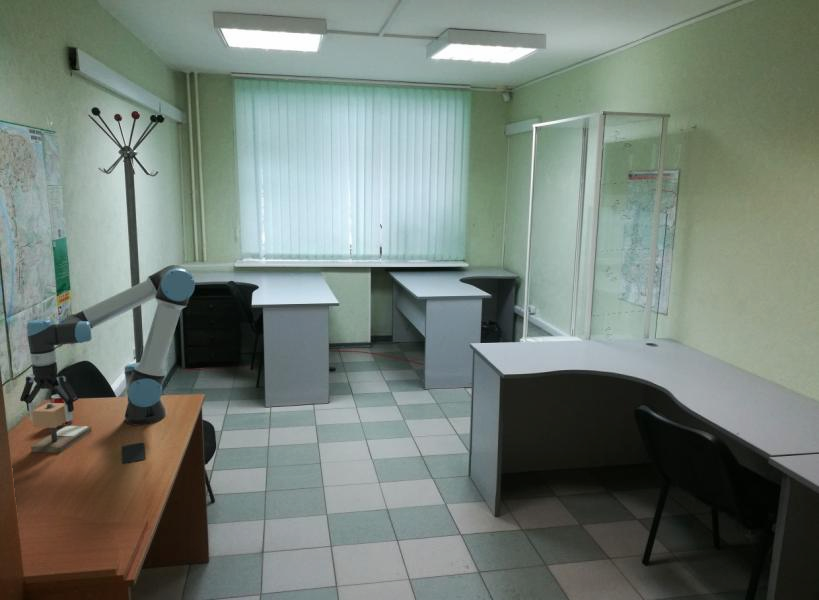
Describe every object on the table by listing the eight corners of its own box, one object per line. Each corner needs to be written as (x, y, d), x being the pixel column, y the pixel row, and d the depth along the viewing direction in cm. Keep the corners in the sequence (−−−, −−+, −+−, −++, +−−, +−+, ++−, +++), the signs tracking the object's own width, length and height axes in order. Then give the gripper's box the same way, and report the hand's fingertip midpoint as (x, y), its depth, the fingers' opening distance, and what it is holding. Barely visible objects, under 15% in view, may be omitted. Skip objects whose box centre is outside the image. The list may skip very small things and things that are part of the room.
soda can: (64, 428, 232) (60, 399, 230) (48, 426, 234) (44, 397, 231) (77, 421, 239) (73, 392, 237) (62, 420, 241) (58, 391, 238)
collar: (70, 418, 218) (68, 403, 217) (55, 427, 210) (53, 411, 209) (49, 418, 218) (47, 403, 217) (34, 427, 211) (31, 411, 210)
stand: (91, 432, 228) (86, 392, 225) (60, 452, 211) (54, 410, 207) (64, 431, 229) (59, 391, 226) (31, 451, 212) (25, 409, 208)
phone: (121, 463, 201) (121, 446, 214) (122, 465, 201) (121, 448, 214) (145, 458, 204) (144, 442, 217) (146, 461, 204) (144, 444, 217)
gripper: (3, 365, 207) (11, 423, 211) (70, 366, 205) (78, 424, 209) (18, 359, 215) (26, 415, 219) (84, 360, 212) (91, 416, 217)
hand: (51, 419), depth 214 cm, fingers open, 13 cm apart
